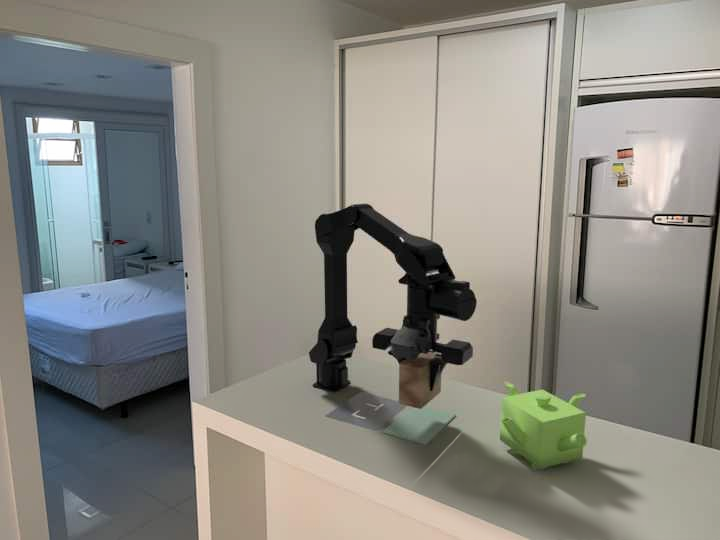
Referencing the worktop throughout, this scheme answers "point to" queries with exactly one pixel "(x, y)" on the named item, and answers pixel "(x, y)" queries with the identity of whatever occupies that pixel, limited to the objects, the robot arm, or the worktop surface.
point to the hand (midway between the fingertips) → (420, 387)
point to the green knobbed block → (542, 427)
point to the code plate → (367, 411)
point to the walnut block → (417, 381)
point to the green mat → (419, 424)
